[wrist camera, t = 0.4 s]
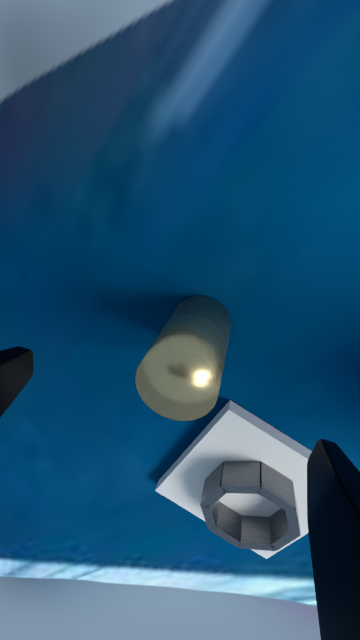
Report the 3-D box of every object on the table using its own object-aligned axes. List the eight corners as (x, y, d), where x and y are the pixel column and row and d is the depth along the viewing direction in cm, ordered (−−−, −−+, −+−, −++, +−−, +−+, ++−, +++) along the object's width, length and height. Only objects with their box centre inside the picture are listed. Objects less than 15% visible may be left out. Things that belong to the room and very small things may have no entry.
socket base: (362, 482, 25) (366, 495, 24) (266, 546, 31) (266, 559, 30) (230, 400, 25) (228, 409, 24) (158, 480, 31) (155, 490, 30)
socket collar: (314, 494, 25) (320, 523, 23) (260, 533, 29) (260, 561, 27) (238, 446, 25) (236, 471, 23) (192, 491, 29) (186, 516, 27)
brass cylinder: (243, 316, 22) (235, 381, 15) (210, 359, 24) (190, 433, 17) (191, 284, 22) (158, 333, 15) (163, 329, 24) (122, 391, 17)
